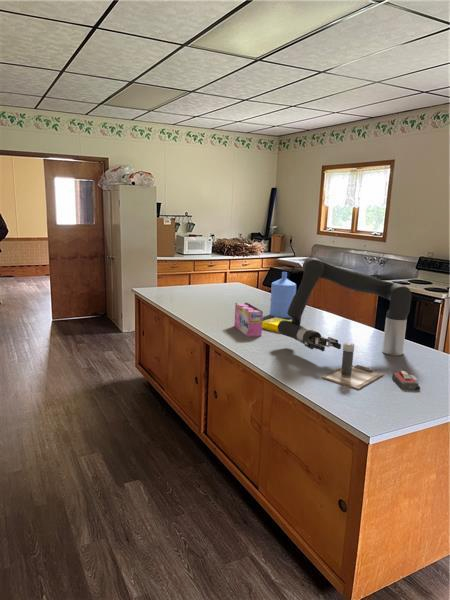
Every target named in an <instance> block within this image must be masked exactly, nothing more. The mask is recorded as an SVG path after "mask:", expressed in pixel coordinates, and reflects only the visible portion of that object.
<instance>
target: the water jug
mask: <svg viewBox="0 0 450 600" xmlns="http://www.w3.org/2000/svg"><path fill="white" fill-rule="evenodd" d="M270 291H271V292H270V293H271V294H270V308H269V316H271V317H272V316H273V317H272V318H275V317H277V318H281V319H292V317H290V316H289V315H288V314H287V312H288V309H289V306H290V304H291V302H292V299H293V297H294V295H295V294H296V292H297V283H295V282H293V281H291V280H290V279H289V278H288V272H287V271H282V272H281V278H280V279H277V280H275V281H273V282H272V283H271V288H270Z"/></svg>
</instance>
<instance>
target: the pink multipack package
mask: <svg viewBox="0 0 450 600" xmlns="http://www.w3.org/2000/svg"><path fill="white" fill-rule="evenodd" d="M234 307H235V308H234V327H235V328H236V329H238V330H239V331H240V332H241V333H243V335H245V336H247V338H253V337H261V336H263V335H262V333H263V332H262V331H263V329H262V321H263V317H264V314H263V313H264V312H263V310H261V309H259V308H257V307H256V306H255V305H254V306H253V305H252V304H251V303H248V302H244V303H237V302H236V303H235V306H234Z"/></svg>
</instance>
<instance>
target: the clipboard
mask: <svg viewBox="0 0 450 600" xmlns="http://www.w3.org/2000/svg"><path fill="white" fill-rule="evenodd" d="M341 369H342V366H341V367H339V368H337V369H335V370H333V371H330V372H329V373H327V374H324V375H323V376H321V377H320V379H323V380H326V381H329V382H332V383H336V384H339V385H342V386H345V387H347V388H351V389H354V390H357V391H360V390H362V389H364V388H365V387H367V386H369V385H370V384H371V383H373V382H375V381H377V380H378V379H380V378H382V377H383V376H385V374H384V373H381V372H377V371H374V368H370V367H367V366H363V365H360V364H356V365H353V364H352V373H351V377H350V378H344V377H342V376H341Z"/></svg>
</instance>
